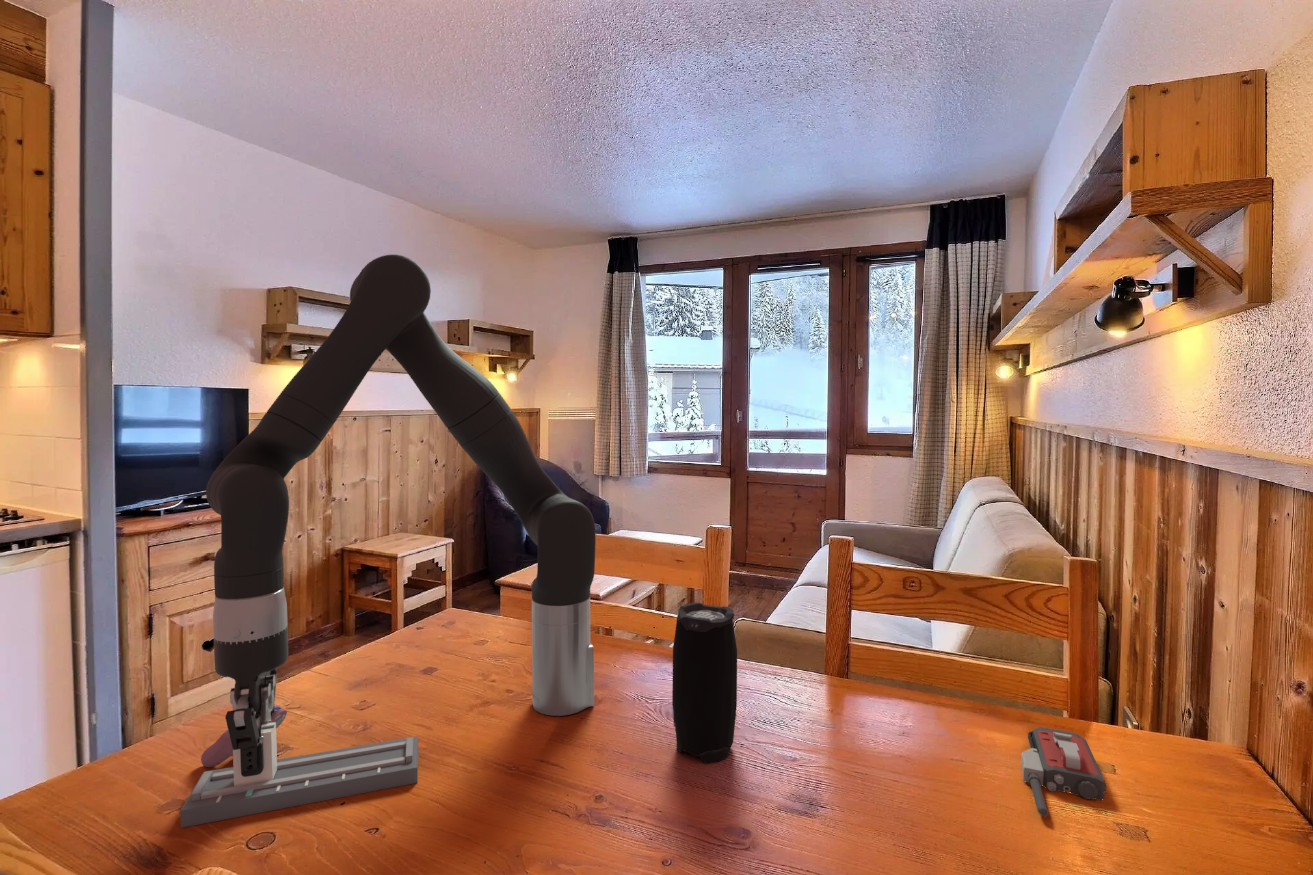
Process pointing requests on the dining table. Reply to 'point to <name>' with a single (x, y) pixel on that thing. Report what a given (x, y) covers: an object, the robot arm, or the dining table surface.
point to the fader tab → (268, 758)
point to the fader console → (304, 781)
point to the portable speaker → (704, 681)
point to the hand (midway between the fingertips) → (255, 766)
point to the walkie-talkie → (1060, 766)
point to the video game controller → (224, 746)
